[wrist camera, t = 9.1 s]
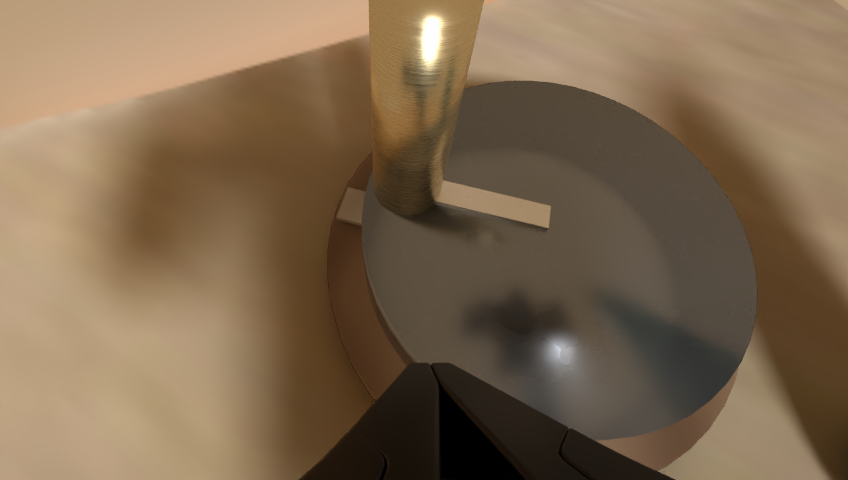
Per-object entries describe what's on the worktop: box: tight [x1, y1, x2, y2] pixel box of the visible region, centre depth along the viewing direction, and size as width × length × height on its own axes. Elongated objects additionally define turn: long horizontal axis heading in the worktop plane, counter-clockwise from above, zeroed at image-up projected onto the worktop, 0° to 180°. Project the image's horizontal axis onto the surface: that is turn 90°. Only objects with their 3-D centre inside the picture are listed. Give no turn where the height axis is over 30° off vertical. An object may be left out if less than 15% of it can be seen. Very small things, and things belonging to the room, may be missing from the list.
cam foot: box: [361, 0, 757, 441], centre depth 14 cm, size 15×15×10 cm
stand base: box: [327, 153, 739, 471], centre depth 19 cm, size 18×18×2 cm
